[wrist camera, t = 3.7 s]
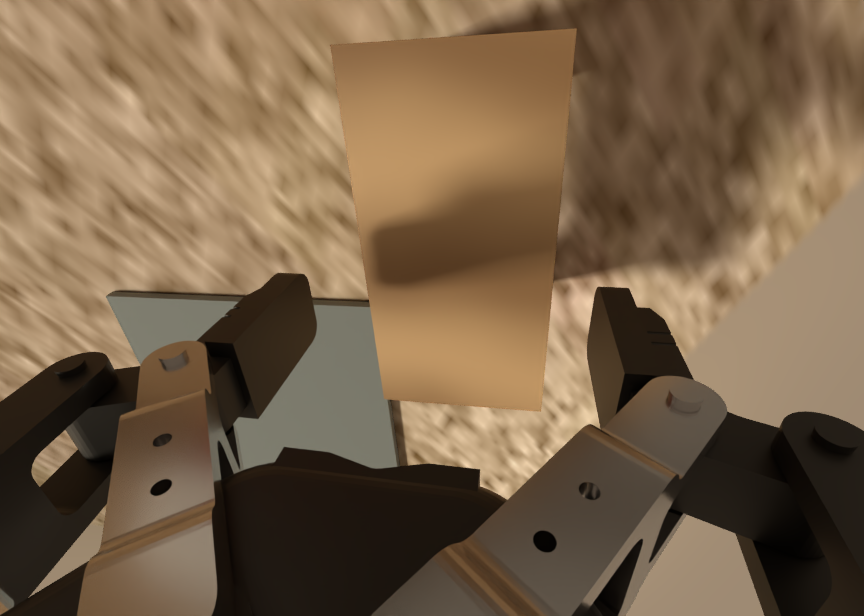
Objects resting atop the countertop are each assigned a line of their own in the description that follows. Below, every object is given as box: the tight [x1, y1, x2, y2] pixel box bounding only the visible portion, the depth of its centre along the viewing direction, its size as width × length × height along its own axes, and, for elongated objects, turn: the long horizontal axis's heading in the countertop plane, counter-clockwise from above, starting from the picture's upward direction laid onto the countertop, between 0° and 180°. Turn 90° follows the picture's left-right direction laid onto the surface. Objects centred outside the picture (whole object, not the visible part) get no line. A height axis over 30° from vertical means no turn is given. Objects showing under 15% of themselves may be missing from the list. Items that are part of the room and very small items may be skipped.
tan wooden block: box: [330, 28, 577, 412], centre depth 18 cm, size 12×6×9 cm, turn 3°
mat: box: [106, 292, 400, 470], centre depth 33 cm, size 20×18×1 cm
